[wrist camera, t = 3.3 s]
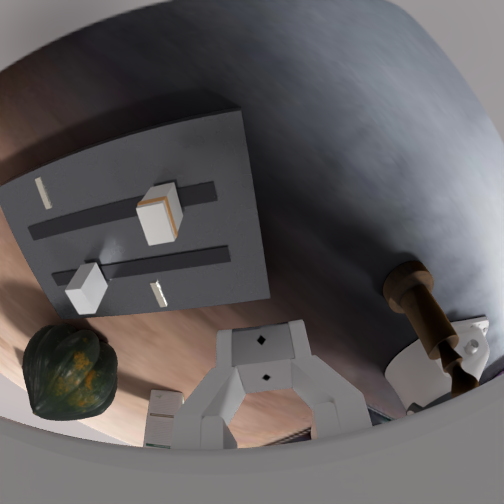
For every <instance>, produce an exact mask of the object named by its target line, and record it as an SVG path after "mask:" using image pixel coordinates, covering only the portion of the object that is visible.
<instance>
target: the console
mask: <svg viewBox="0 0 504 504" xmlns="http://www.w3.org/2000/svg"><path fill="white" fill-rule="evenodd" d="M173 182H174V184H175V187H176V191H177V195H178V199H179V202H180V206H181V210H182V213H183V218H182V221H181V224H180V227H179V230H178V236H177V238H176V239H175V241H173V242H167V243H162V244H156V245H150V246H149V244H148V242H147V239H146V236H145V233H144V231H143V228H142V225H141V222H140V219H139V216H138V214H137V211H136V208H137V205H138V203H139V202H140V201H141V200H142V199H143V198H144V196H145V195H146V193H147V192H148V190H149V189H150V188H151V187H154V186H159V185H163V184H168V183H173ZM0 205H1V208H2V210H3V213H4V215H5V217H6V220H7V222H8V224H9V226H10V229H11V231H12V233H13V235H14V237H15V239H16V241H17V243H18V245H19V247H20V249H21V251H22V253H23V255H24V257H25V259H26V261H27V263H28V265H29V267H30V268H31V270H32V272H33V274H34V276H35V277H36V279H37V281H38V283H39V284H40V286H41V288H42V289H43V291H44V293H45V294H46V296H47V298H48V299H49V301H50V302H51V304H52V305H53V307H54V309H55V310H56V312H57V313H58V315H59V316H60V318H61V319H73V318H89V317H104V316H117V315H129V314H140V313H151V312H161V311H171V310H181V309H190V308H199V307H207V306H215V305H223V304H231V303H239V302H246V301H254V300H261V299H268V298H270V291H269V283H268V276H267V270H266V263H265V256H264V250H263V243H262V237H261V230H260V224H259V217H258V211H257V204H256V198H255V192H254V185H253V179H252V173H251V166H250V160H249V154H248V148H247V142H246V136H245V130H244V123H243V117H242V111H241V107H237V108H231V109H225V110H220V111H214V112H209V113H204V114H199V115H194V116H190V117H185V118H181V119H176V120H172V121H168V122H164V123H160V124H156V125H152V126H149V127H145V128H142V129H138V130H135V131H131V132H128V133H124V134H121V135H118V136H115V137H112V138H109V139H106V140H103V141H100V142H97V143H94V144H91V145H88V146H85V147H83V148H80V149H77V150H75V151H72V152H69V153H67V154H64V155H62V156H59V157H57V158H55V159H52V160H50V161H47V162H45V163H43V164H40V165H38V166H36V167H34V168H32V169H29V170H27V171H25V172H23V173H21V174H19V175H17V176H15V177H13V178H11V179H9V180H7V181H6V182H5V183H3V184H2V185H0ZM95 262H96V263H97V265H98V267H99V269H100V271H101V273H102V275H103V277H104V279H105V281H106V283H107V285H108V287H107V289H106V291H105V293H104V296H103V298H102V300H101V302H100V304H99V306H98V308H97V311H96V313H94V314H80V315H79V313H78V312H77V310H76V308H75V307H74V305H73V304H72V302H71V300H70V299H69V297H68V295H67V294H66V292H65V289H66V288H67V286H68V284H69V283H70V281H71V279H72V278H73V276H74V275H75V273H76V272H77V270H78V268H79V267H80V265H83V264H89V263H95Z"/></svg>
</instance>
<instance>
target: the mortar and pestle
mask: <svg viewBox="0 0 504 504" xmlns="http://www.w3.org/2000/svg"><path fill="white" fill-rule="evenodd" d="M433 284H434V281H433V277H432V275H431V274H430V273H429V271H428V270H427V269H426V267H425V266H424V265H423V264H422V263H420V262H418V261H409V262H406V263H403V264H401V265H400V266H398V267H396V268H395V269H394V270H393V271H392V272H391V273H390V274H389V275H388V277H387V278H386V280H385V282H384V286H383V295H384V297H385V299H386V301H387V303H388V305H389V306H390V308H391V309H392V310H393V311H394V312H397V313H405V314H406V316H407V317H408V319H409V321H410V323H411V324H412V326H413V328H414V330H415V332H416V334H417V335H418V337H419V339H420V341H421V343H422V345H423V347H424V349H425V351H426V353H427V355H428V357H429V359H430V360H437V359H440V358H441V363H442V368H443V371H444V372H445V373H448V374H449V375H450V376H451V378H452V385H451V397H452V399H453V398H455V397H457V396H460V395H462V394H464V393H466V392H468V391H470V390H473V389H475V388H477V387H479V382H478V380H477V378H476V377H474V376H473V375H471V374H469V373H467V372H465V371H464V370H463V369H462V367H461V363H462V361H463V359H462V357H461V356H460V355H459V354H458V353H457V352H456V351H455V350H454V349H455V347H456V346H457V345H458V343H459V336H458V335H457V333H456V331H455V330H454V328H453V327H452V325H451V323H450V322H449V320H448V319H447V317H446V316H445V314H444V312H443V311H442V309H441V308H440V306H439V305H438V303H437V302H436V300H435V299H434V297H433V296H432V294H431V292H432V289H433Z"/></svg>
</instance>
